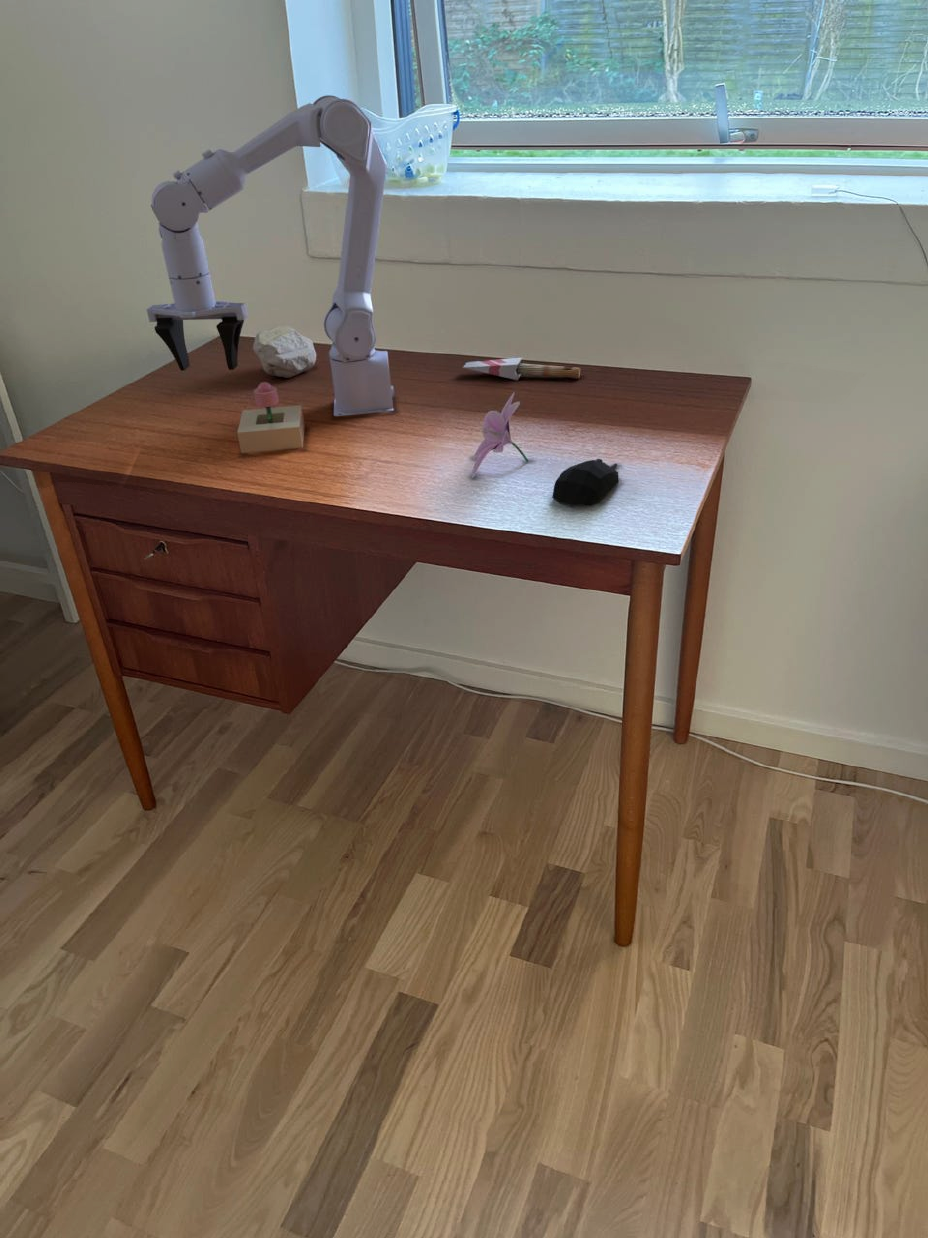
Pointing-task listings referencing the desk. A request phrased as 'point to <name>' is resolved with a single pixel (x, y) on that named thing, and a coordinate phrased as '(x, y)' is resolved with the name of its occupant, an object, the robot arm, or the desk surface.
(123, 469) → the desk surface
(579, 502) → the gaming mouse
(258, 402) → the flower
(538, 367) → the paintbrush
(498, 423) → the lily
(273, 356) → the white rock
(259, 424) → the beige square socket block
